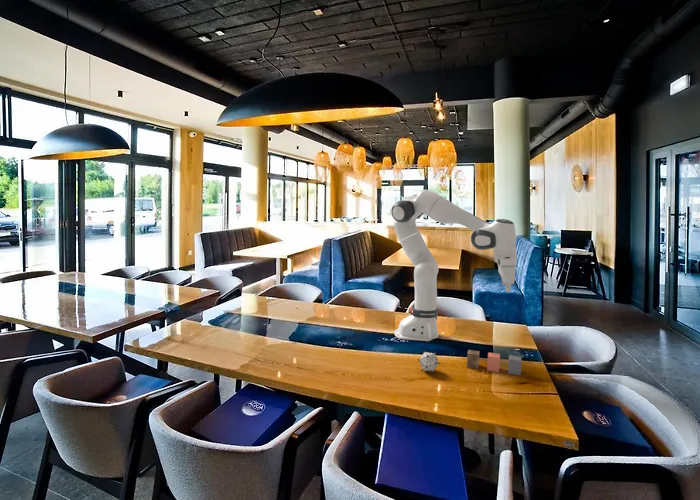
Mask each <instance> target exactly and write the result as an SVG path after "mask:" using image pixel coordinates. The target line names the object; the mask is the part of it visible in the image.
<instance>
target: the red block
mask: <svg viewBox="0 0 700 500" xmlns="http://www.w3.org/2000/svg"><path fill="white" fill-rule="evenodd" d="M500 359H501V354H500V353H496V352H487V366H486V368H487V369H486V371H488V372H489V371H490V372H495V373H500V365H501V364H500V362H501V360H500Z"/></svg>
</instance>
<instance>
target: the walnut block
mask: <svg viewBox="0 0 700 500" xmlns="http://www.w3.org/2000/svg"><path fill="white" fill-rule="evenodd" d="M466 357H467V358H466V368H469V369H476V370H478V369H479V366H480V364H479V363H480V350H473V349H468V350H467V356H466Z"/></svg>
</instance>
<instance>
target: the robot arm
mask: <svg viewBox="0 0 700 500" xmlns="http://www.w3.org/2000/svg"><path fill="white" fill-rule="evenodd" d="M390 211H391V212H390V214H391V216H392V218H393V219H394V222H393V227H394V228H393V229H394V231H395V234H396V236H397V238H398V241H399V243H400V245H401V247H402V249H403V251H404V254H406V257H408V259H409V260H410V262H411V263H412V265H413V267H414V270H413V280H414V282H413V284H414V285H413V286H414V306H413V307H412V306H409V307H408V311H409V313H410V314H409V315H407V316H406V317H404V318H402V319H401V320H400V322H399V325H398V328H396V329H395V330H394V336H395V337H396V338H398V339H400V340H409V341H421V342H424V341H425V342H430V341H432V340H434V339H437V338H438V337H440V334H439V331H438V324H437V323H438V321H437V320H438V308H437V307H438V306H437V305H438V304H437V302H438V299H437V298H438V289H437V288H438V287H437V286H438V285H437V283H438V281H437V280H438V279H437V277H438V273H439V270H440V269H439V264H438V262H437V261H436V259H435V257H434V255H433V254H432V252H431V251H430V249H429V248H428V246H427V244H426V242H425V240H424V238H423V236H422V234H421V232H420V230H419V229H418V228H419V227H418V226H417V222H416V221H417V220H419V219H420V218H421V217H422V215H424V214H425V216H427V217H429V218H430V219H432V220H433V221H434V222H437V223H440V224H445V225H446V224H454V225H455V224H456V225H460V226H461V225H462V226H464V227H466V228H468V229H469V230H471V231H473V232H472V234H471V236H470V241H471V244H472V246H473V247H474V248H475V249H476V250H479V251H485V250H490V249H491V250H492V249H493V256H494V257H493V258H494V259H493V260H494V262H495V263H496V264H497V267H498V268H497V269H498V270H497V271H498V274H499V275H500V277H501V284H502V286H503V287H504V286H505V292H506V293H511V287H512V285H514V284H515V280H516V266H517V265H518V263H517V261H518V260H517V259H518V258H517V247H516V242H517V235H516V226H515V223H514V222H513V221H512V220H510V219H506V218H499V219H498V218H497V219H494V221H492V222H488V221H486V220H483V219H481V218H479V217H478V216H476V215H475V214H473V213H471V212H469V211H467V210H465V209H463V208H461V207H460V206H458V205H456V204H455V203H453V202H452V201H450V200H449V199H447V198H446V197H444V196H442V195H440V194H439V193H437V192H435V191H432V190H429V189H422V190H421V191H420V192H418V193H417V194H412V195H409V196H407V197H404V198H403V199H401V200H398V201H396V202H395V203H394V204H393V205H392V207H391V210H390Z"/></svg>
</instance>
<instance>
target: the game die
mask: <svg viewBox="0 0 700 500" xmlns="http://www.w3.org/2000/svg"><path fill="white" fill-rule="evenodd" d="M436 354H437V352H435V353H434V352H433V353H432V352H429V351H428V352H427V351H425V350H423V353H422V354H421V357H420V358H419V359H418V358H417V359H416V360H417V361H418V362H419V364H420V367H421V370H420V372H423V371H426V372H427V371H428V372H432V374H435V370H436V368H438V365H440V364H442V363H441V362H439V360H438V357H437V355H436Z"/></svg>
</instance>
